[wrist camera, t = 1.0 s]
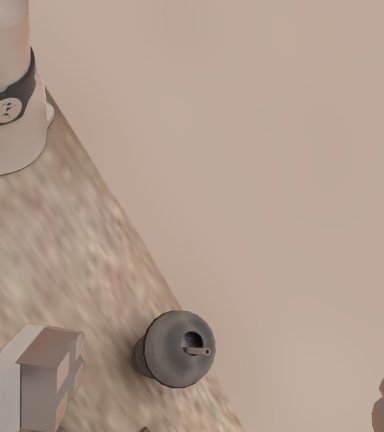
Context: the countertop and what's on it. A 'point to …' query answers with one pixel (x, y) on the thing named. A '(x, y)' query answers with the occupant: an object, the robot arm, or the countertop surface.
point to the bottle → (59, 431)
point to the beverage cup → (175, 349)
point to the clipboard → (145, 430)
